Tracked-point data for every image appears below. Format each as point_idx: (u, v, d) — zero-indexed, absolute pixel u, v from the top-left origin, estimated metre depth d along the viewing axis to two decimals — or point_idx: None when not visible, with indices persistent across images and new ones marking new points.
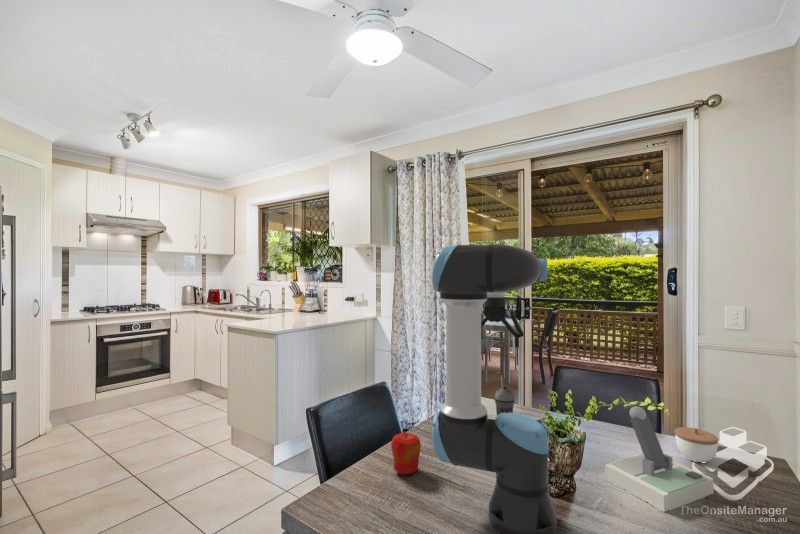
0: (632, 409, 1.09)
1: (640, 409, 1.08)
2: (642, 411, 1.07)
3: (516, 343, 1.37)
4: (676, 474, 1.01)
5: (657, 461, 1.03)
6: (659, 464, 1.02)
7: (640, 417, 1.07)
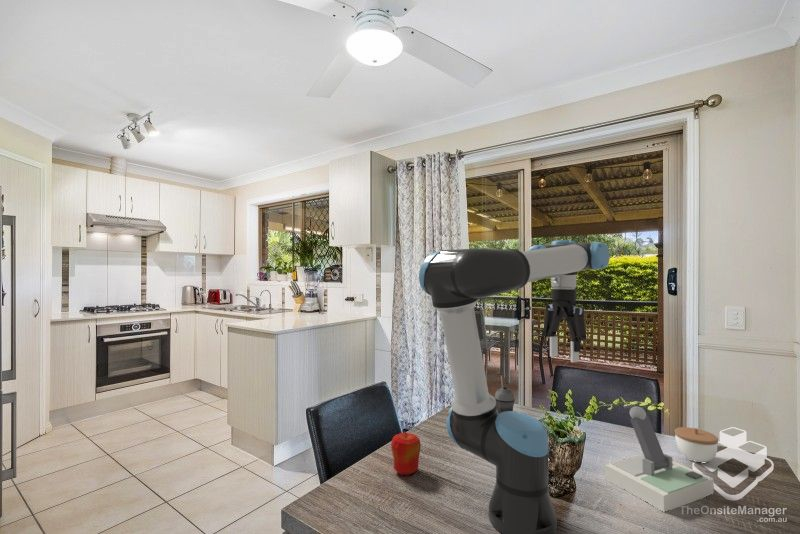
0: (632, 409, 1.09)
1: (640, 409, 1.08)
2: (642, 411, 1.07)
3: None
4: (676, 474, 1.01)
5: (657, 461, 1.03)
6: (659, 464, 1.02)
7: (640, 417, 1.07)
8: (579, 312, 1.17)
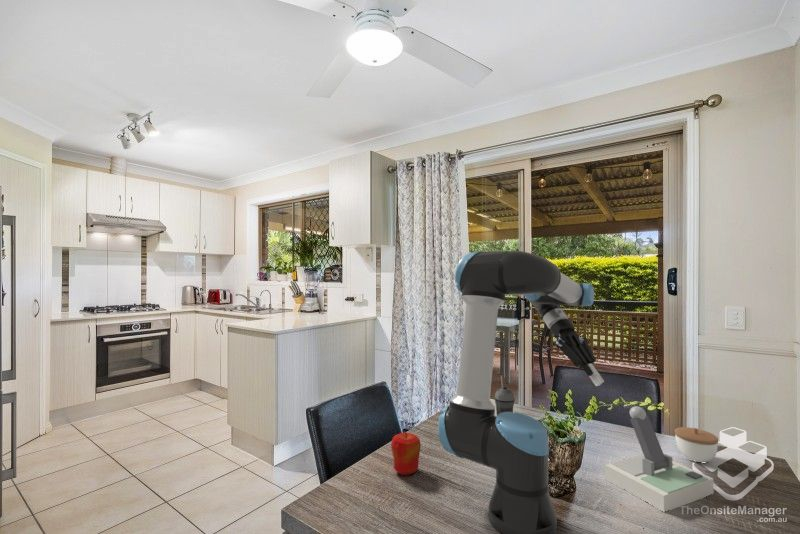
0: (632, 409, 1.09)
1: (640, 409, 1.08)
2: (642, 411, 1.07)
3: None
4: (676, 474, 1.01)
5: (657, 461, 1.03)
6: (659, 464, 1.02)
7: (640, 417, 1.07)
8: None
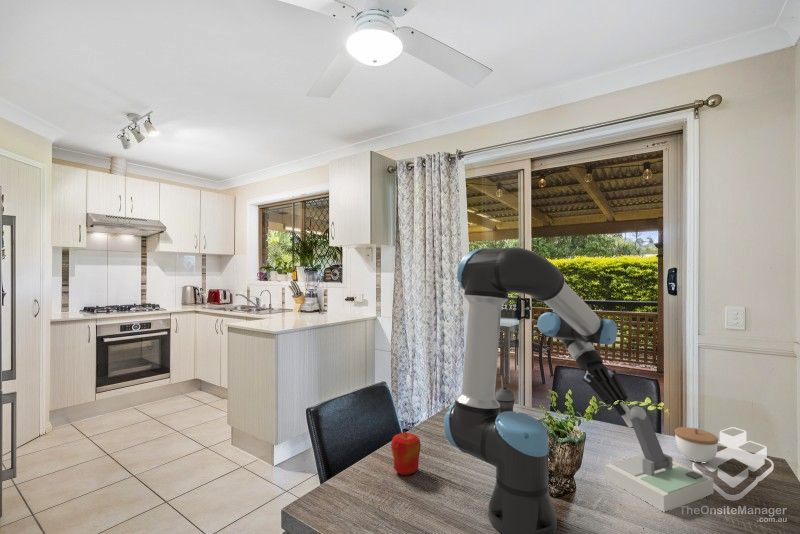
0: (632, 409, 1.09)
1: (640, 409, 1.08)
2: (642, 411, 1.07)
3: None
4: (676, 474, 1.01)
5: (657, 461, 1.03)
6: (659, 464, 1.02)
7: (640, 417, 1.07)
8: None
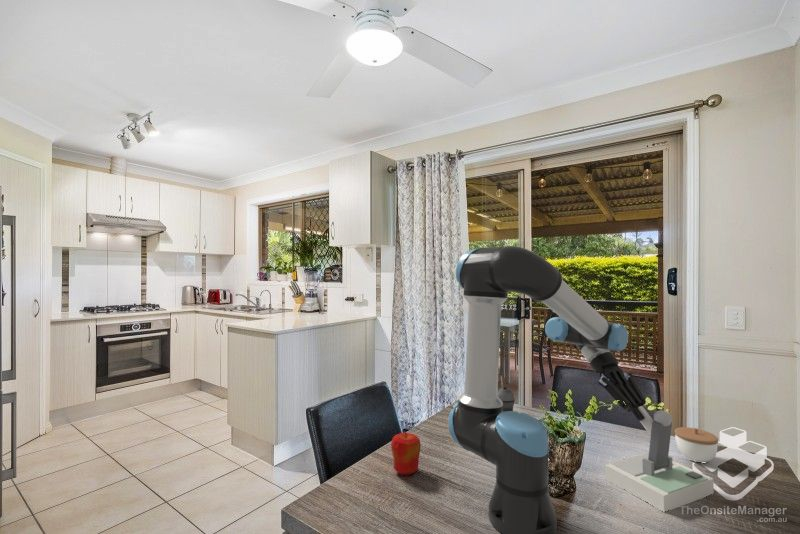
0: (659, 414, 1.02)
1: (668, 417, 1.01)
2: (670, 420, 1.00)
3: None
4: (676, 474, 1.01)
5: (659, 464, 1.02)
6: (660, 467, 1.02)
7: (664, 424, 1.01)
8: None
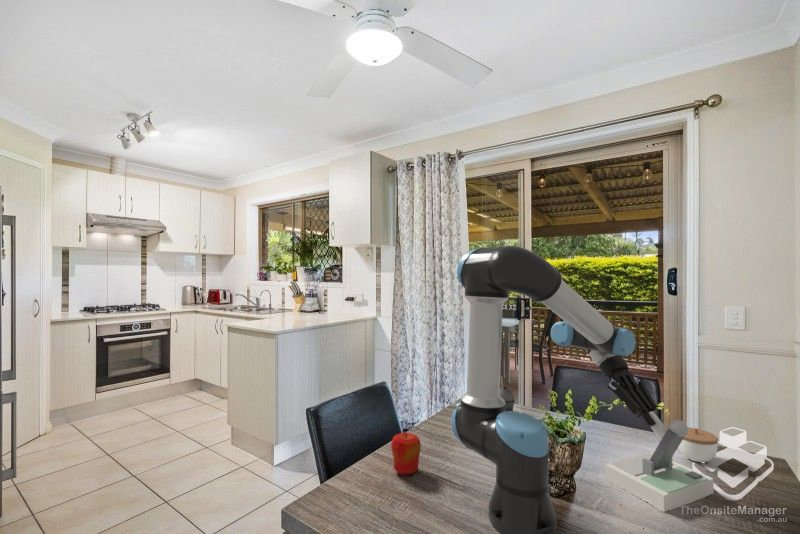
0: (677, 425, 0.97)
1: (685, 430, 0.97)
2: (686, 433, 0.97)
3: None
4: (676, 474, 1.01)
5: (659, 466, 1.02)
6: (659, 468, 1.02)
7: (679, 435, 0.97)
8: None
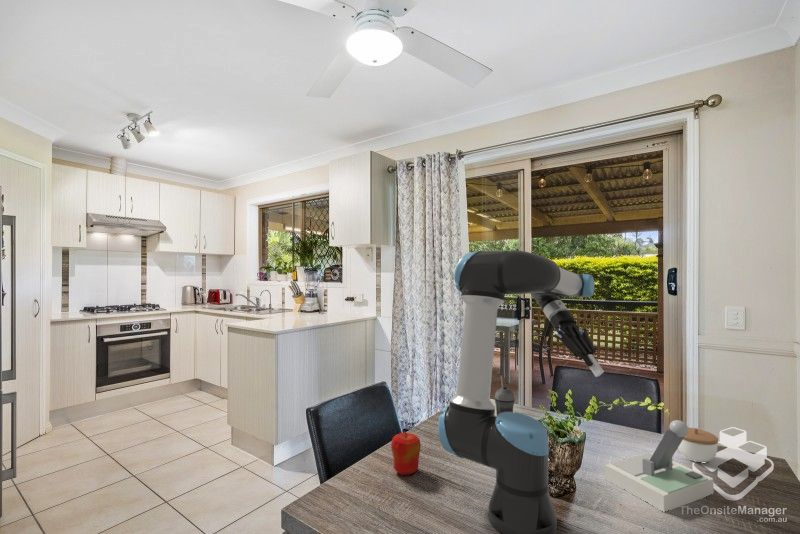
0: (677, 425, 0.97)
1: (686, 430, 0.97)
2: (686, 433, 0.97)
3: None
4: (676, 474, 1.01)
5: (659, 466, 1.02)
6: (659, 468, 1.02)
7: (679, 435, 0.97)
8: None
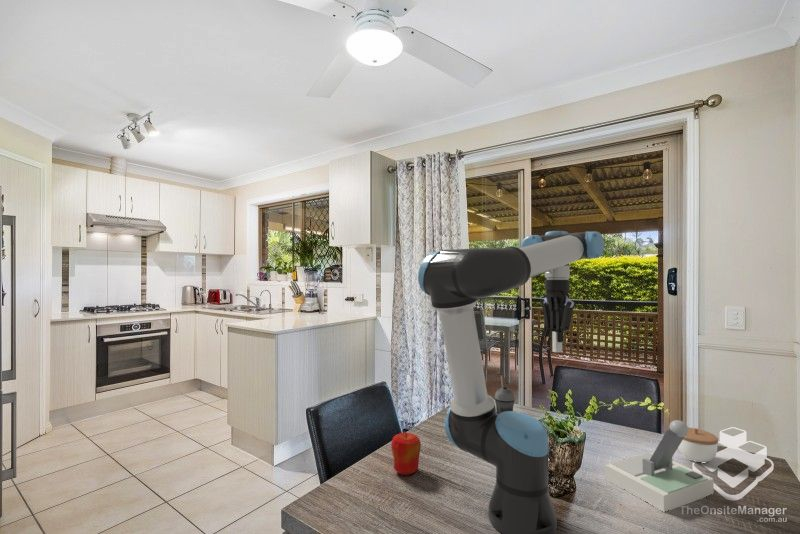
0: (677, 425, 0.97)
1: (686, 430, 0.97)
2: (686, 433, 0.97)
3: None
4: (676, 474, 1.01)
5: (659, 466, 1.02)
6: (659, 468, 1.02)
7: (679, 435, 0.97)
8: (570, 306, 1.18)
